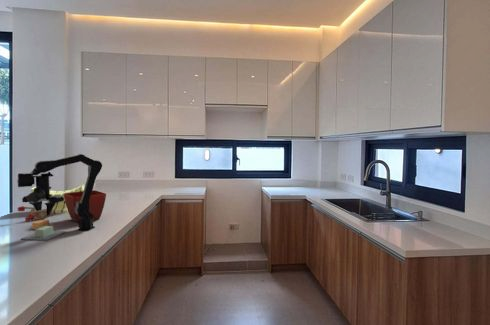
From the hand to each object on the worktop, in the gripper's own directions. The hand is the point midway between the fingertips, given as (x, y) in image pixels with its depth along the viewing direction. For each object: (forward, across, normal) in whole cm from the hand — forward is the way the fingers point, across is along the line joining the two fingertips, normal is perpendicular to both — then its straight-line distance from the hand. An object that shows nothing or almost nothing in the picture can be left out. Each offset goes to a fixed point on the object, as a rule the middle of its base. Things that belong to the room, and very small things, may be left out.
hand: (43, 215), depth 154 cm
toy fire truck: (+11, -30, +28) cm, 42 cm away
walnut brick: (+1, 0, 0) cm, 1 cm away
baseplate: (+11, 0, 0) cm, 11 cm away
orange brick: (+11, -14, +15) cm, 23 cm away
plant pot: (+11, +1, +34) cm, 36 cm away
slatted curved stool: (+11, -32, +56) cm, 65 cm away
